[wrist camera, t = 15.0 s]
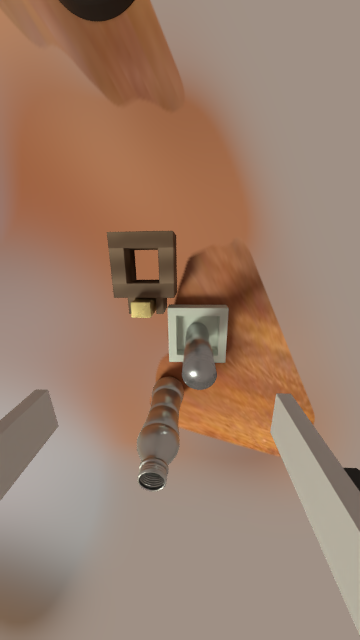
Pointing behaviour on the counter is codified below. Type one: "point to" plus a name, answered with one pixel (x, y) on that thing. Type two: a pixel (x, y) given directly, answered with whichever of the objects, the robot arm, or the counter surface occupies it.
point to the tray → (205, 314)
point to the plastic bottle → (160, 434)
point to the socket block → (126, 271)
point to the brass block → (143, 307)
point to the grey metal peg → (198, 358)
